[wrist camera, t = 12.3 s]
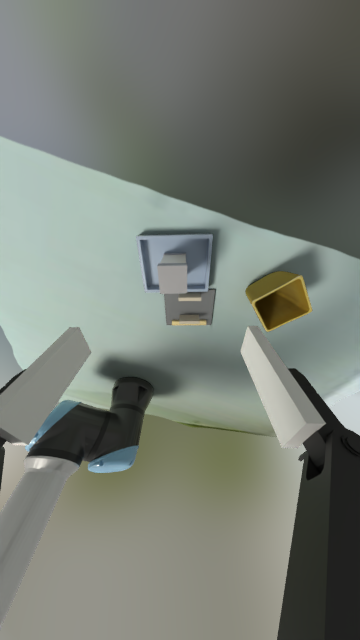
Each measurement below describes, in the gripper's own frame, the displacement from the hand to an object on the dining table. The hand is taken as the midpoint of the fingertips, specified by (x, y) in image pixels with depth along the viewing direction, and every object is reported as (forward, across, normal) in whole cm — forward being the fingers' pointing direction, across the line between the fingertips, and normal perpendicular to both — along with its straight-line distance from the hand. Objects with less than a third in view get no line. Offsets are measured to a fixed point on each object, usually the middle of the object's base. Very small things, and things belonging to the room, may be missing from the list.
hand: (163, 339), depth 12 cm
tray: (+24, 0, 0) cm, 25 cm away
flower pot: (+25, +20, -6) cm, 32 cm away
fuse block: (+25, +3, -11) cm, 27 cm away
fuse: (+24, 0, 0) cm, 24 cm away
